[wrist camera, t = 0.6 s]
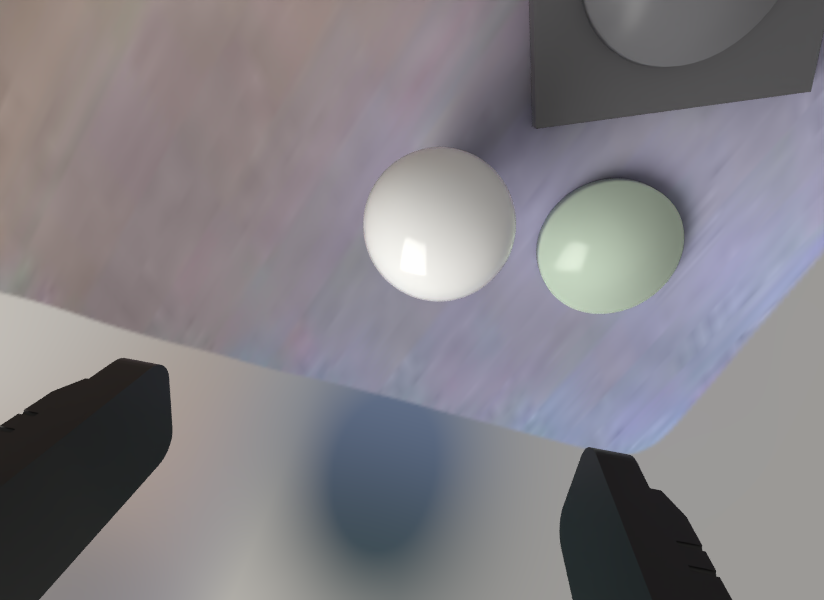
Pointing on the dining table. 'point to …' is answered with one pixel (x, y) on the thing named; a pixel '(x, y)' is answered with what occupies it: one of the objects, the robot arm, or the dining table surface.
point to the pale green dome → (609, 245)
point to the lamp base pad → (666, 55)
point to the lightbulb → (439, 224)
